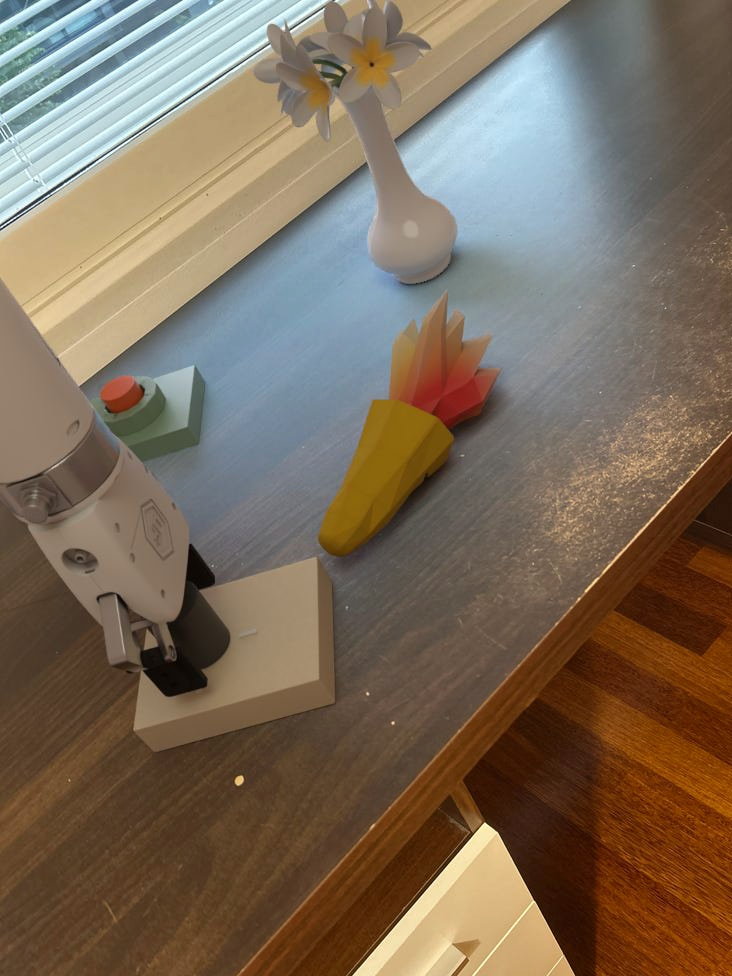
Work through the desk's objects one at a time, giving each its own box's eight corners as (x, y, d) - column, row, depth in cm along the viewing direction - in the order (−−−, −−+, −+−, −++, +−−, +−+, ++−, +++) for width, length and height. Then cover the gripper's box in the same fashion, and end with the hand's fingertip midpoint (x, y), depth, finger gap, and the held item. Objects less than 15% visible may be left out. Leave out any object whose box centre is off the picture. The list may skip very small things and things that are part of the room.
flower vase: (381, 227, 112) (285, -21, 93) (522, 236, 103) (446, -37, 84) (313, 299, 107) (197, 52, 88) (455, 316, 97) (359, 43, 79)
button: (107, 419, 97) (97, 404, 95) (112, 396, 99) (102, 381, 98) (142, 407, 96) (132, 393, 95) (145, 385, 99) (136, 370, 97)
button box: (84, 480, 98) (60, 450, 95) (98, 417, 104) (75, 386, 101) (199, 444, 96) (177, 411, 93) (205, 382, 103) (185, 349, 100)
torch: (357, 596, 83) (474, 366, 92) (411, 584, 77) (531, 338, 86) (276, 538, 79) (407, 303, 88) (326, 521, 73) (461, 270, 82)
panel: (154, 753, 74) (131, 729, 71) (168, 629, 81) (148, 604, 79) (335, 703, 72) (318, 677, 69) (332, 581, 79) (316, 554, 77)
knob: (228, 663, 73) (192, 617, 69) (172, 677, 74) (133, 632, 70) (233, 617, 76) (198, 570, 72) (179, 631, 76) (141, 585, 72)
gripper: (92, 545, 55) (236, 719, 68) (127, 359, 66) (245, 539, 79) (-32, 583, 56) (133, 747, 69) (23, 394, 67) (156, 565, 80)
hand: (193, 636), depth 74 cm, fingers open, 9 cm apart
